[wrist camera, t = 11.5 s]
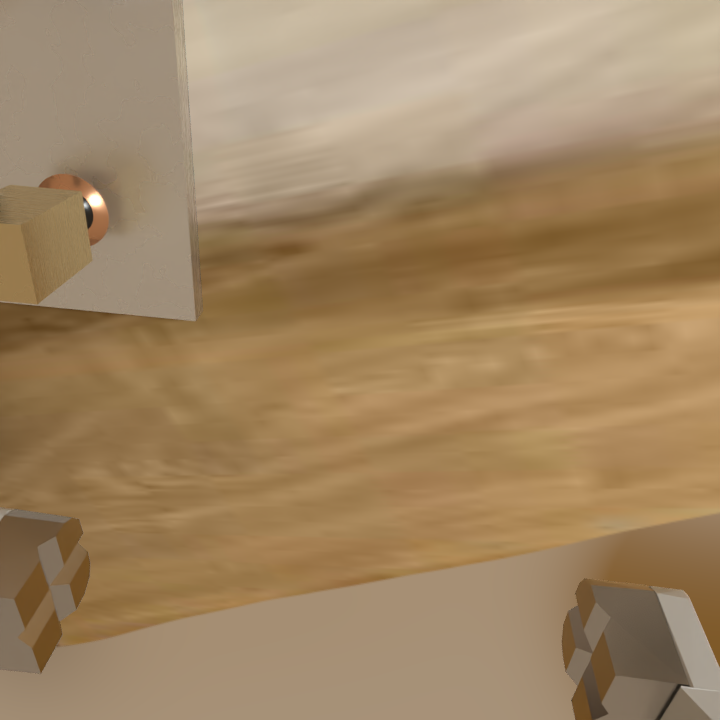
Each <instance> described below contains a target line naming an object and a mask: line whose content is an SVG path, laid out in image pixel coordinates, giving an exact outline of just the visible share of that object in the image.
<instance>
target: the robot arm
mask: <svg viewBox="0 0 720 720" xmlns="http://www.w3.org/2000/svg"><path fill="white" fill-rule="evenodd" d="M82 535H83V530H82V527H81V524H80V520H79V519H76V518H71V517H64V516H58V515H51V514H44V513H37V512H31V511H24V510H17V509H9V508H1V507H0V670H8V671H19V672H28V673H38V674H41V673H42V671H43V669H44V667H45V666H46V663H47V662H48V660H49V658H50V657H51V655H52V653H53V651H54V649H55V647H56V646H57V644H58V642H59V640H60V638H61V637H62V629H61V624H60V621H61V620H62V619H64V618H65V617H67V616H68V615H69V614H71V613H72V612H74V611H75V610H76V609H77V607H78V606H79V604H80V602H81V600H82V598H83V596H84V594H85V591H86V587H87V584H88V580H89V577H90V559H89V555H88V552H87V551H86V550H85V549H84V548H83V547H82V546H81V545H80V544H79V543H78V541H79V540H80V538H81V536H82ZM575 594H576V599H577V603H578V606H576V607H574V608H573V609H571V610H569V611H568V613H567V616H566V619H565V621H564V624H563V635H562V650H563V651H562V652H563V660H564V665H565V671H566V673H567V674H568V675H569V676H570V677H571V679H572V680H573V681H574V682H575V684H576V685H577V689H576V691H575V693H574V696H573V698H572V700H571V701H572V706H573V711H574V715H575V720H720V668H719V666H718V664H717V661H716V659H715V656H714V654H713V652H712V649H711V647H710V645H709V642H708V640H707V638H706V635H705V633H704V631H703V628H702V626H701V624H700V621H699V619H698V617H697V614H696V612H695V610H694V607H693V605H692V603H691V600H690V598H689V596H688V595H687V594H686V593H685V592H684V591H683V590H678V589H669V588H661V587H653V586H646V585H640V584H631V583H621V582H613V581H603V580H594V579H584V580H582V581H581V582H580V583H579V585H578V588H577V590H576V593H575Z"/></svg>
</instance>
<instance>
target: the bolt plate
mask: <svg viewBox="0 0 720 720" xmlns="http://www.w3.org/2000/svg"><path fill="white" fill-rule="evenodd" d="M8 185H18V186H29V187H40V188H51V189H63V190H74V191H82V196H83V203H84V209H85V215H86V222H87V228H88V234H89V241H90V247H91V253H92V260H93V261H92V262H90V263H89V264H88V265H87V266H85V267H84V268H83V269H82V270H80V271H79V272H78V273H77V274H75V275H74V276H73V277H71V278H70V279H69V280H68V281H66V282H65V283H64V284H63V285H61V286H60V287H59V288H58V289H56V290H55V291H54V292H52V293H51V294H50V295H49V296H47V297H46V298H45V299H44V300H42V301H41V302H40V303H39V304H28V303H18V302H8V301H0V302H5V303H15V304H25V305H36V306H46V307H56V308H66V309H77V310H87V311H97V312H108V313H118V314H128V315H138V316H149V317H159V318H169V319H179V320H190V321H196V320H197V319H198V317H199V316H200V314H201V313H202V312H203V306H202V291H201V276H200V261H199V246H198V231H197V216H196V201H195V186H194V171H193V156H192V141H191V126H190V111H189V96H188V81H187V66H186V50H185V35H184V20H183V5H182V0H0V189H1V188H4V187H6V186H8Z"/></svg>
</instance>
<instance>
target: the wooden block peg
mask: <svg viewBox="0 0 720 720" xmlns="http://www.w3.org/2000/svg"><path fill="white" fill-rule="evenodd" d="M92 261H93V260H92V253H91V247H90V241H89V234H88V228H87V222H86V215H85V209H84V203H83V196H82V191H74V190H63V189H51V188H40V187H29V186H18V185H8V186H6V187H4V188H1V189H0V301H8V302H18V303H28V304H39V303H40V302H41V301H42V300H44V299H45V298H46V297H47V296H49V295H50V294H51V293H52V292H54V291H55V290H56V289H58V288H59V287H60V286H61V285H63V284H64V283H65V282H66V281H68V280H69V279H70V278H71V277H73V276H74V275H75V274H77V273H78V272H79V271H80V270H82V269H83V268H84V267H85V266H87V265H88V264H89V263H90V262H92Z"/></svg>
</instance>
